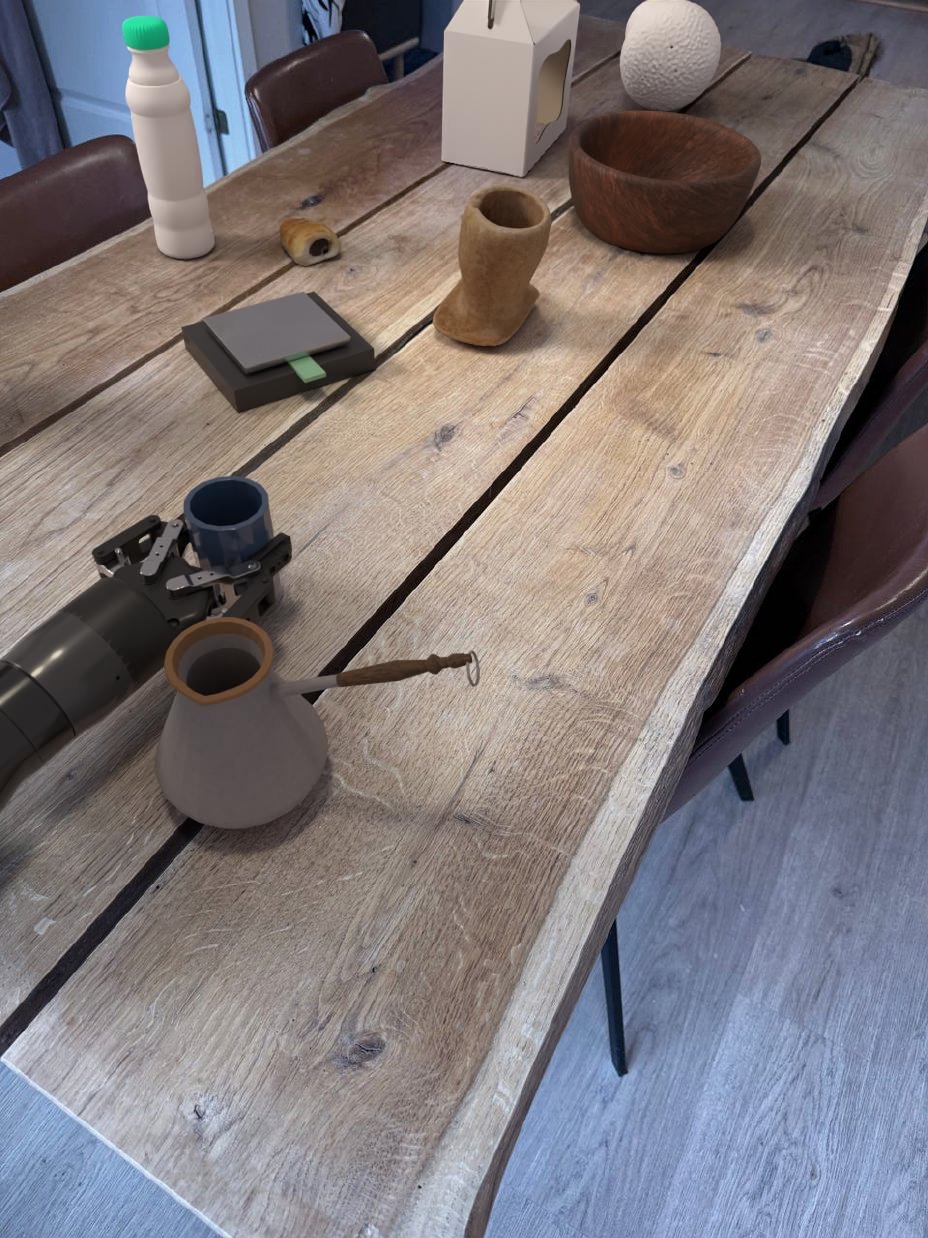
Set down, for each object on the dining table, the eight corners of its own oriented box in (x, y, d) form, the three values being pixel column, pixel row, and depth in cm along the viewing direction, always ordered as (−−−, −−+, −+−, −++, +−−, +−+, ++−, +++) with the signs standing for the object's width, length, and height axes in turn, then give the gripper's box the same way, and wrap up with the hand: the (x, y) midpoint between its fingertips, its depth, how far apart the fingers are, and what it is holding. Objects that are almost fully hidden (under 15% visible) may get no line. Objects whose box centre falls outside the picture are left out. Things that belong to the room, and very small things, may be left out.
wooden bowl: (648, 283, 114) (664, 200, 106) (523, 209, 127) (530, 130, 119) (779, 236, 124) (803, 157, 116) (652, 171, 137) (665, 97, 130)
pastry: (267, 239, 118) (263, 209, 115) (314, 228, 120) (312, 199, 117) (299, 269, 112) (296, 239, 110) (347, 258, 115) (346, 228, 112)
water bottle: (223, 254, 114) (186, 25, 96) (168, 265, 112) (119, 32, 93) (204, 231, 118) (165, 7, 100) (151, 241, 116) (101, 13, 97)
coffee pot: (140, 838, 60) (78, 701, 49) (191, 700, 67) (147, 554, 56) (462, 871, 59) (473, 739, 48) (476, 727, 67) (488, 586, 56)
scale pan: (245, 374, 91) (244, 367, 91) (203, 324, 97) (201, 317, 97) (350, 343, 96) (350, 336, 95) (304, 297, 102) (303, 290, 101)
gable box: (490, 114, 151) (502, -97, 130) (566, 128, 148) (591, -86, 127) (440, 162, 136) (444, -67, 116) (523, 179, 134) (543, -53, 113)
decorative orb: (658, 135, 147) (679, 22, 135) (578, 103, 156) (591, -6, 144) (731, 109, 157) (757, 1, 145) (652, 81, 165) (671, -24, 153)
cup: (224, 633, 72) (202, 541, 64) (193, 585, 75) (170, 492, 68) (294, 604, 74) (282, 512, 67) (262, 559, 78) (247, 466, 70)
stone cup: (517, 365, 100) (530, 231, 89) (419, 339, 103) (420, 205, 92) (562, 304, 109) (579, 175, 98) (472, 281, 112) (478, 154, 101)
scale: (246, 423, 91) (241, 398, 89) (185, 348, 100) (180, 324, 97) (384, 378, 97) (383, 354, 95) (316, 311, 106) (314, 288, 104)
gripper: (154, 669, 57) (322, 524, 67) (1, 576, 62) (178, 453, 71) (177, 738, 62) (329, 594, 72) (35, 647, 67) (195, 524, 77)
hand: (253, 525), depth 72 cm, fingers closed on cup, 6 cm apart
